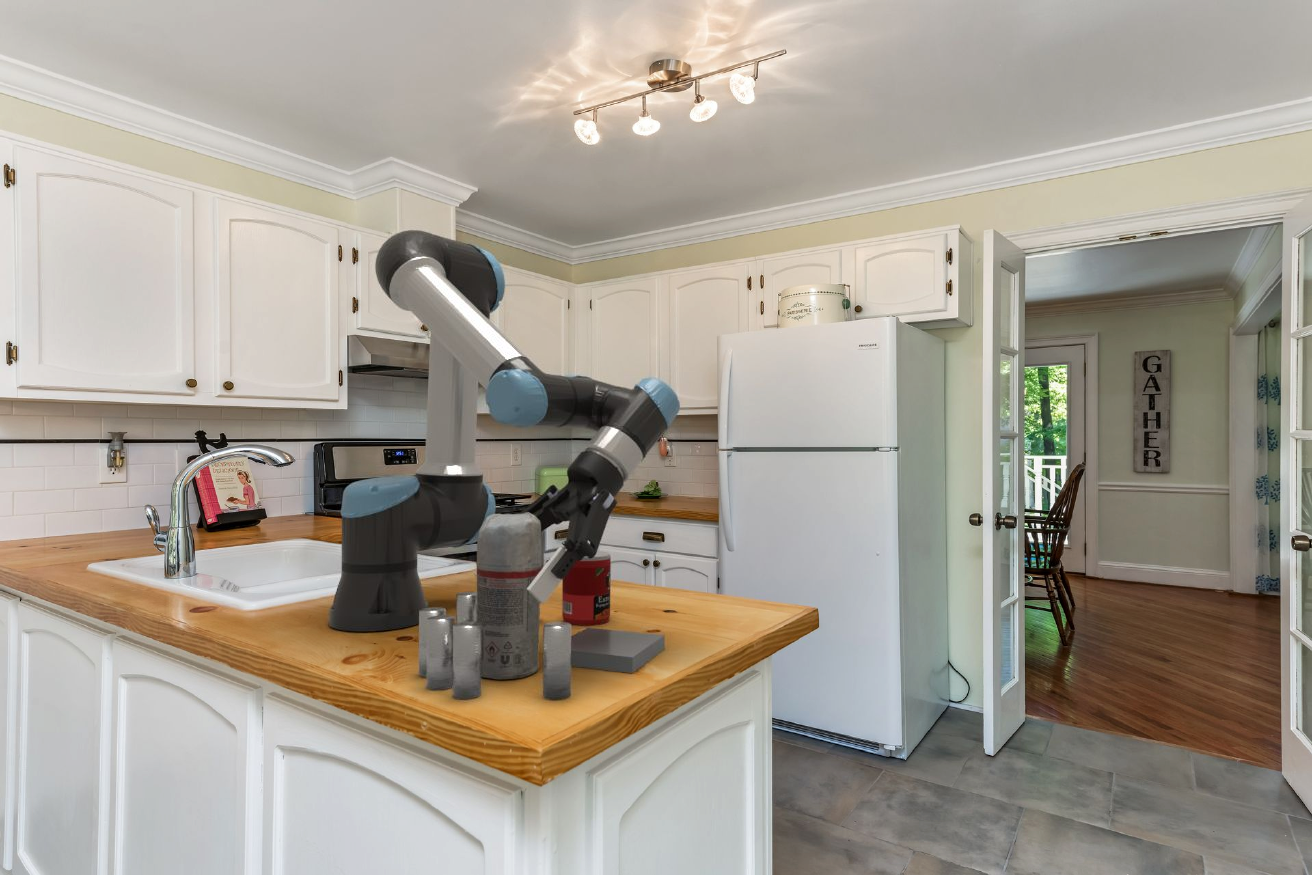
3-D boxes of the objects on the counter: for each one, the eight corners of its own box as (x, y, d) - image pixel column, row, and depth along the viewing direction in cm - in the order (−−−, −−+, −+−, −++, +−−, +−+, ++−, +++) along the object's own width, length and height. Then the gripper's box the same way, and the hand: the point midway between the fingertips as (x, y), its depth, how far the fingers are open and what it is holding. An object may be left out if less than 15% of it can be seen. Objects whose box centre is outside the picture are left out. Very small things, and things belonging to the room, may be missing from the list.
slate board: (548, 663, 98) (548, 647, 98) (587, 641, 109) (587, 627, 109) (632, 673, 94) (632, 657, 94) (664, 649, 105) (664, 635, 105)
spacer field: (373, 686, 88) (374, 618, 88) (464, 647, 105) (465, 591, 106) (547, 711, 80) (547, 637, 80) (615, 665, 97) (615, 603, 97)
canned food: (603, 627, 118) (603, 557, 118) (555, 624, 120) (555, 555, 120) (615, 616, 126) (616, 551, 126) (570, 614, 127) (570, 549, 127)
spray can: (554, 671, 95) (555, 513, 95) (501, 686, 89) (503, 518, 89) (513, 658, 100) (514, 509, 101) (461, 671, 94) (462, 513, 95)
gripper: (677, 489, 96) (580, 624, 86) (570, 482, 115) (480, 591, 105) (645, 448, 92) (540, 583, 83) (540, 447, 112) (445, 557, 102)
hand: (506, 588), depth 94 cm, fingers open, 13 cm apart
